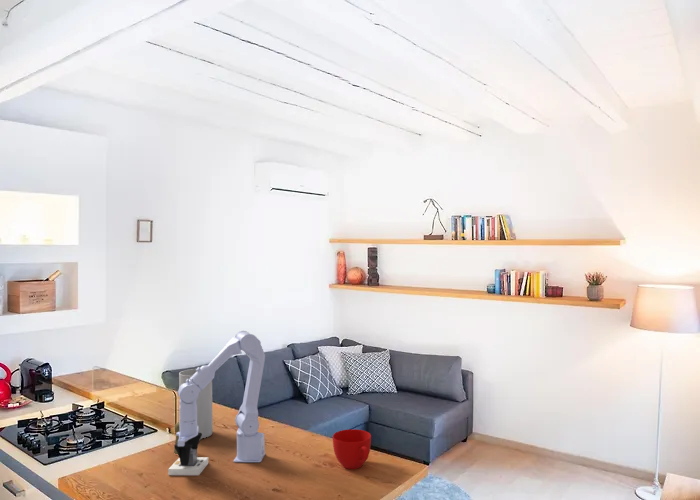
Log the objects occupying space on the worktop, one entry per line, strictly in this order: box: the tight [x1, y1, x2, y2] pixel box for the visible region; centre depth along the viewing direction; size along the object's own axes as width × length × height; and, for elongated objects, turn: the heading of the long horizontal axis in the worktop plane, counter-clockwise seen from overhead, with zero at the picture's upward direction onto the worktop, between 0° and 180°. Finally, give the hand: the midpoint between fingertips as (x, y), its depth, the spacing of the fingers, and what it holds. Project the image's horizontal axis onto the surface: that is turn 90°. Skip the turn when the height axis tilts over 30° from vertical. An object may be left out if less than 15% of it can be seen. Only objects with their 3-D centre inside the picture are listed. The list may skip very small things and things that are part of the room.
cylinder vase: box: [178, 368, 214, 440], centre depth 213 cm, size 12×12×25 cm
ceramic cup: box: [332, 428, 372, 470], centre depth 180 cm, size 13×17×10 cm
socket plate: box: [167, 456, 209, 476], centre depth 180 cm, size 10×10×2 cm
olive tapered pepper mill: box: [173, 421, 180, 454], centre depth 195 cm, size 6×6×11 cm
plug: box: [181, 448, 198, 466], centre depth 180 cm, size 4×4×7 cm
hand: (188, 460), depth 180 cm, fingers open, 7 cm apart
